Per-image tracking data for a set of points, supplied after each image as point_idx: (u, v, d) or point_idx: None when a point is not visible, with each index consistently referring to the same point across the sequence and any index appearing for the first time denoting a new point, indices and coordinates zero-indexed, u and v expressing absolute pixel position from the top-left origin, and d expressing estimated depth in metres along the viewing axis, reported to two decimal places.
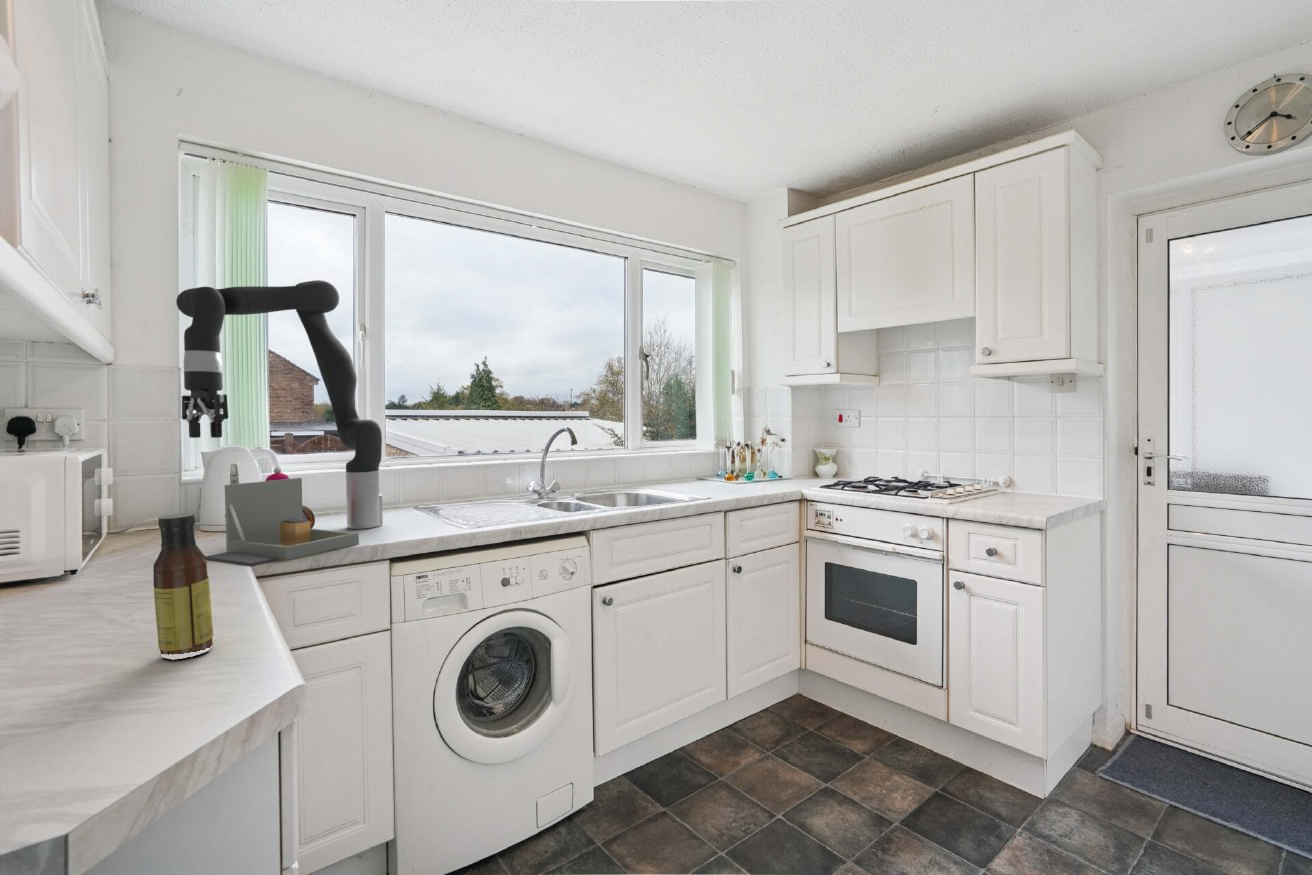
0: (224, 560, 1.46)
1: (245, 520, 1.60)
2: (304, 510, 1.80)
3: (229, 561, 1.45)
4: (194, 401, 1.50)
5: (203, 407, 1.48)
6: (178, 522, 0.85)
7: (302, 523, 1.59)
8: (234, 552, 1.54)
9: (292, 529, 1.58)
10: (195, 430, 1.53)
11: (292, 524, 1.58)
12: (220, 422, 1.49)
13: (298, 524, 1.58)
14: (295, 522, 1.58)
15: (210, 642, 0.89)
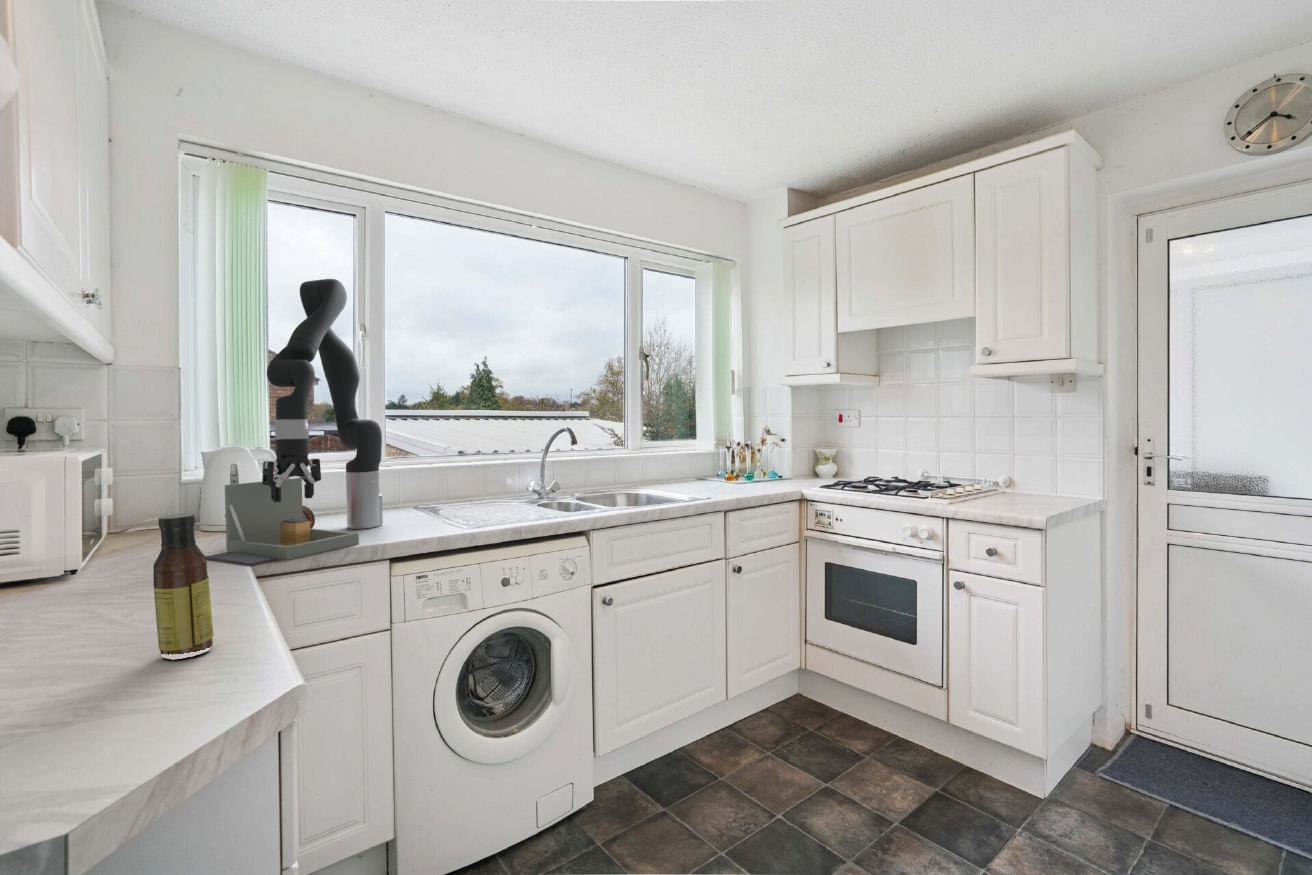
0: (224, 560, 1.46)
1: (245, 520, 1.60)
2: (304, 510, 1.80)
3: (229, 561, 1.45)
4: None
5: (306, 471, 1.62)
6: (178, 522, 0.85)
7: (302, 523, 1.59)
8: (234, 552, 1.54)
9: (292, 529, 1.58)
10: None
11: (292, 524, 1.58)
12: None
13: (298, 524, 1.58)
14: (295, 522, 1.58)
15: (210, 642, 0.89)
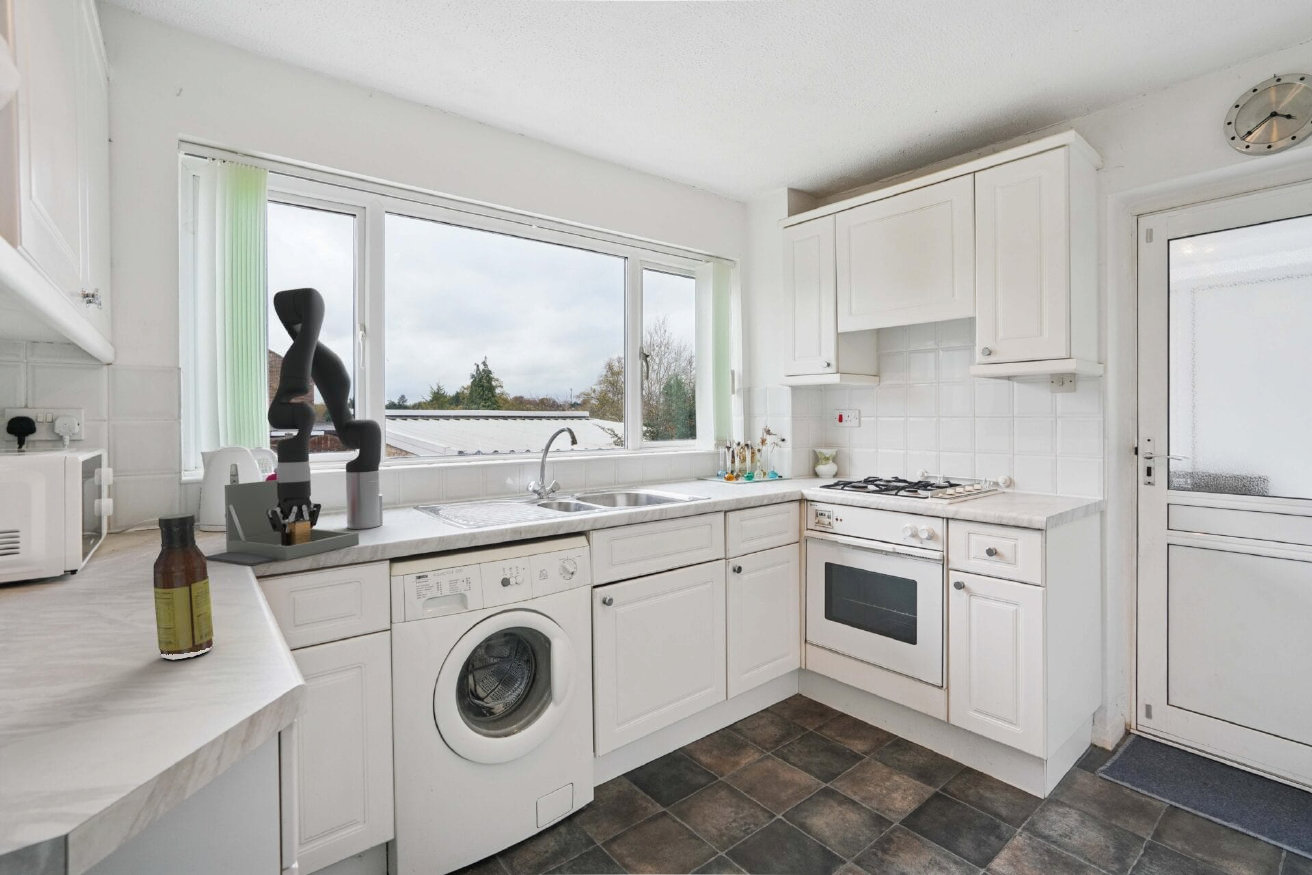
0: (224, 560, 1.46)
1: (245, 520, 1.60)
2: None
3: (229, 561, 1.45)
4: None
5: (305, 514, 1.62)
6: (178, 522, 0.85)
7: (302, 523, 1.59)
8: (234, 552, 1.54)
9: (292, 529, 1.58)
10: None
11: (292, 524, 1.58)
12: None
13: (298, 524, 1.58)
14: (295, 522, 1.58)
15: (210, 642, 0.89)
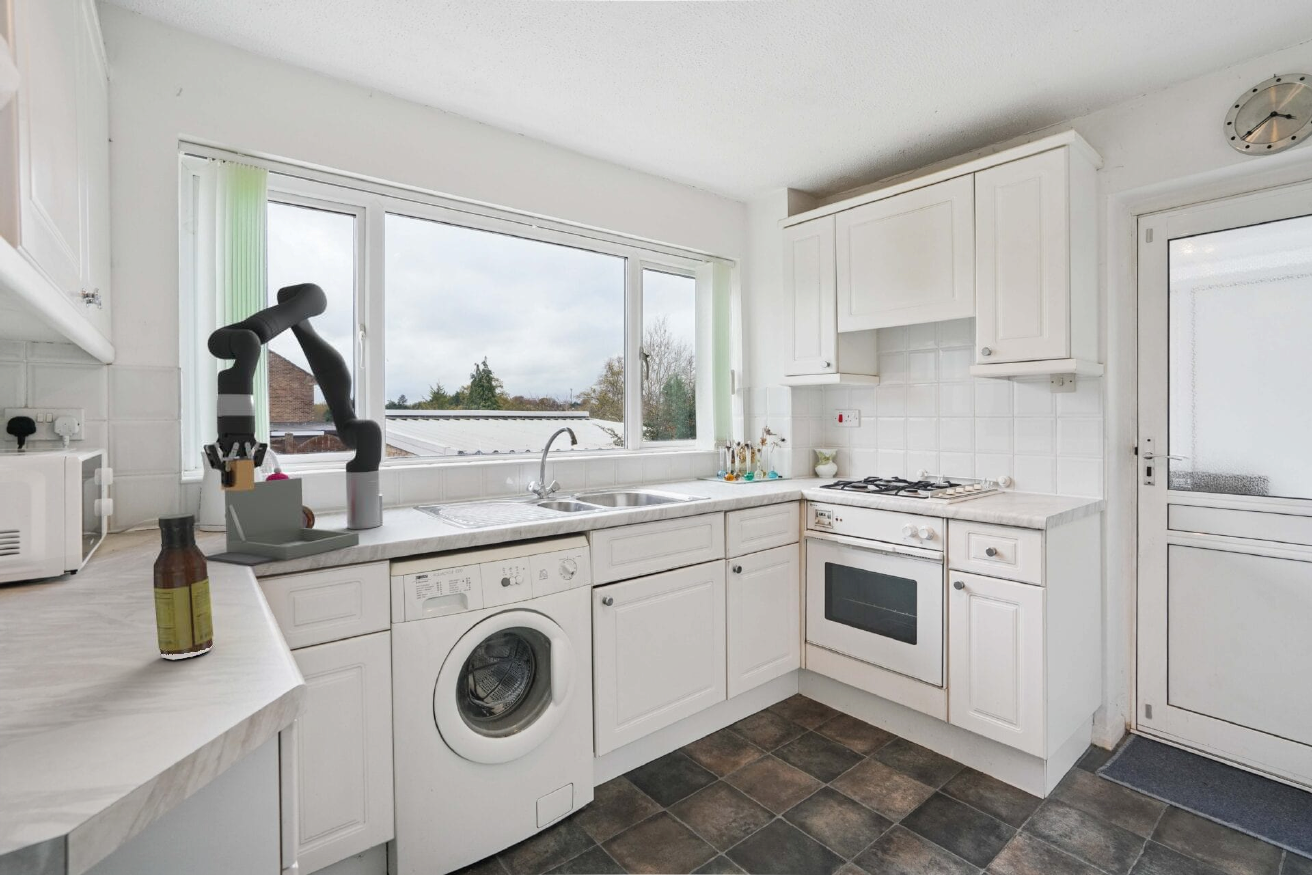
0: (224, 560, 1.46)
1: (245, 520, 1.60)
2: (304, 510, 1.80)
3: (229, 561, 1.45)
4: None
5: (249, 453, 1.48)
6: (178, 522, 0.85)
7: (244, 461, 1.46)
8: (234, 552, 1.54)
9: (233, 467, 1.45)
10: None
11: (233, 461, 1.45)
12: None
13: (240, 462, 1.45)
14: (236, 459, 1.45)
15: (210, 642, 0.89)
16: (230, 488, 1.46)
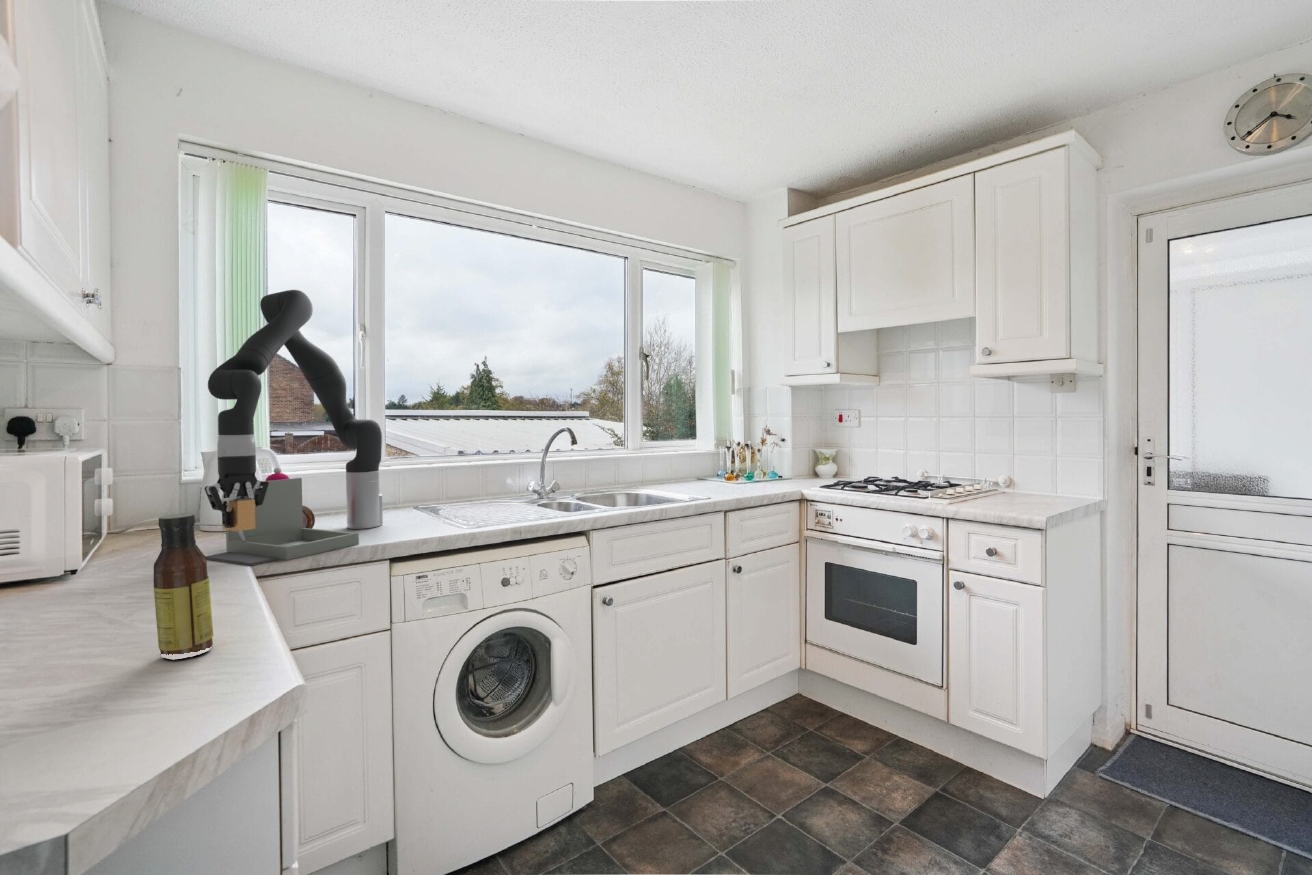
0: (224, 560, 1.46)
1: None
2: (304, 510, 1.80)
3: (229, 561, 1.45)
4: None
5: (250, 492, 1.49)
6: (178, 522, 0.85)
7: (245, 501, 1.46)
8: (234, 552, 1.54)
9: (234, 507, 1.45)
10: None
11: (234, 502, 1.45)
12: None
13: (240, 502, 1.45)
14: (237, 500, 1.45)
15: (210, 642, 0.89)
16: (231, 528, 1.46)
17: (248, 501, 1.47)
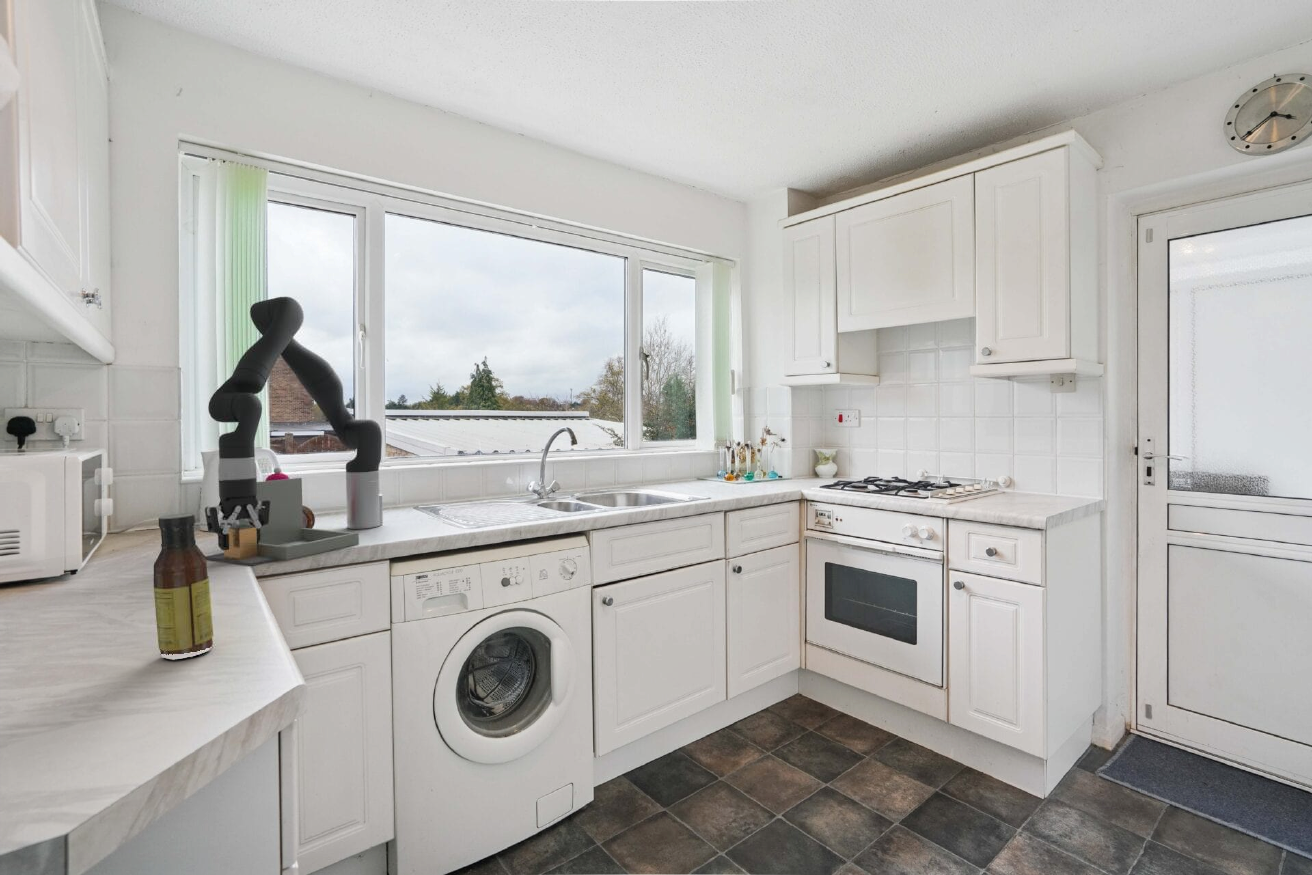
0: (224, 560, 1.46)
1: (245, 520, 1.60)
2: (304, 510, 1.80)
3: (229, 561, 1.45)
4: None
5: (253, 514, 1.49)
6: (178, 522, 0.85)
7: (247, 529, 1.47)
8: None
9: (236, 536, 1.46)
10: None
11: (236, 531, 1.46)
12: None
13: (242, 531, 1.46)
14: (239, 528, 1.46)
15: (210, 642, 0.89)
16: (233, 557, 1.46)
17: (250, 529, 1.47)
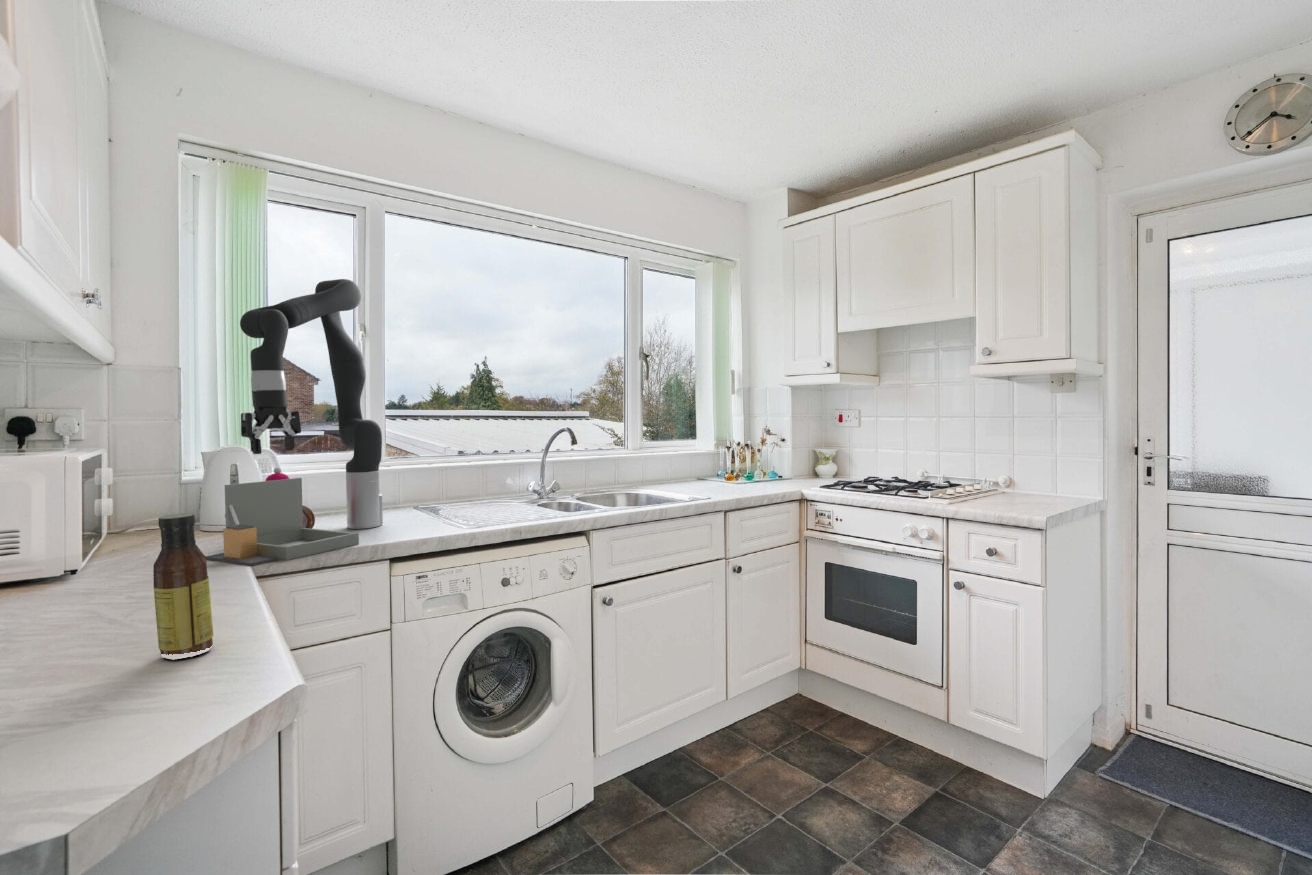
0: (224, 560, 1.46)
1: (245, 520, 1.60)
2: (304, 510, 1.80)
3: (229, 561, 1.45)
4: None
5: (285, 423, 1.61)
6: (178, 522, 0.85)
7: (247, 529, 1.47)
8: None
9: (236, 536, 1.46)
10: None
11: (236, 531, 1.46)
12: None
13: (242, 531, 1.46)
14: (239, 528, 1.46)
15: (210, 642, 0.89)
16: (233, 557, 1.46)
17: (250, 529, 1.47)
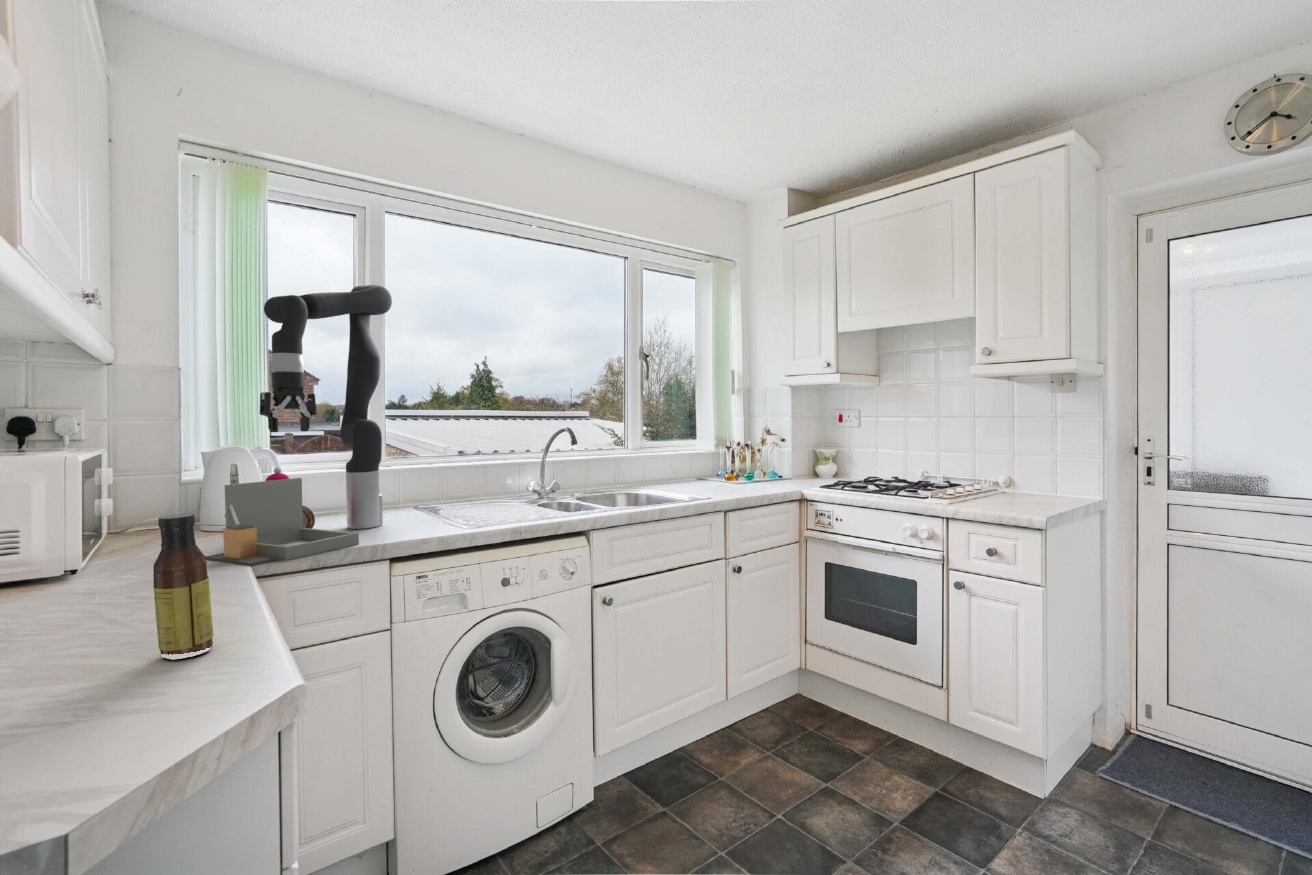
0: (224, 560, 1.46)
1: (245, 520, 1.60)
2: (304, 510, 1.80)
3: (229, 561, 1.45)
4: None
5: (302, 404, 1.68)
6: (178, 522, 0.85)
7: (247, 529, 1.47)
8: None
9: (236, 536, 1.46)
10: None
11: (236, 531, 1.46)
12: None
13: (242, 531, 1.46)
14: (239, 528, 1.46)
15: (210, 642, 0.89)
16: (233, 557, 1.46)
17: (250, 529, 1.47)
